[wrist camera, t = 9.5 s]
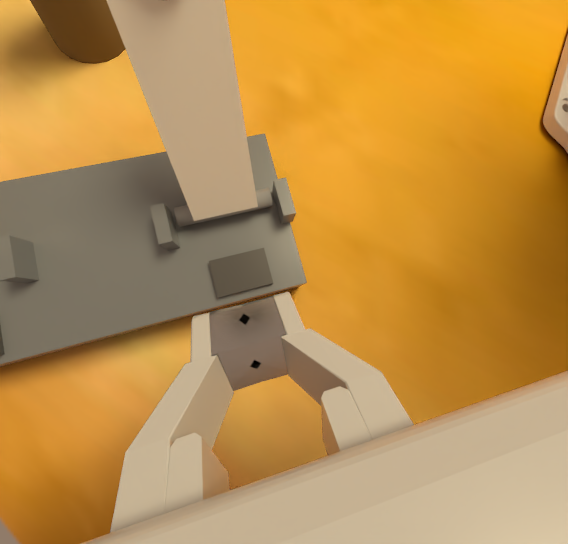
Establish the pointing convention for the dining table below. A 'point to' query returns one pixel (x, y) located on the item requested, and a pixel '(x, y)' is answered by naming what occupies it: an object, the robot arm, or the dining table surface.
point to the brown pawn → (81, 28)
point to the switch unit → (130, 253)
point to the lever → (193, 101)
